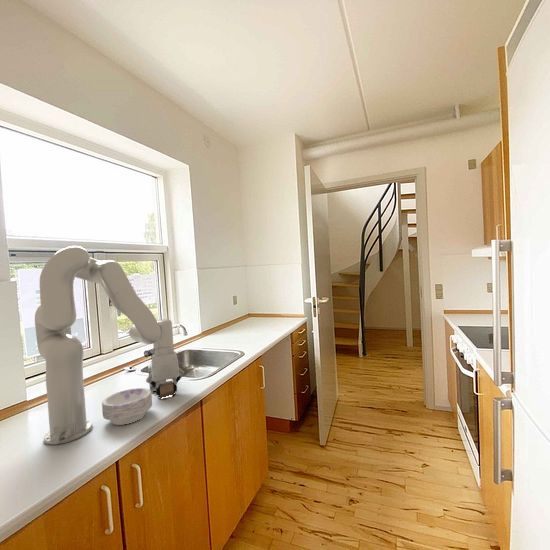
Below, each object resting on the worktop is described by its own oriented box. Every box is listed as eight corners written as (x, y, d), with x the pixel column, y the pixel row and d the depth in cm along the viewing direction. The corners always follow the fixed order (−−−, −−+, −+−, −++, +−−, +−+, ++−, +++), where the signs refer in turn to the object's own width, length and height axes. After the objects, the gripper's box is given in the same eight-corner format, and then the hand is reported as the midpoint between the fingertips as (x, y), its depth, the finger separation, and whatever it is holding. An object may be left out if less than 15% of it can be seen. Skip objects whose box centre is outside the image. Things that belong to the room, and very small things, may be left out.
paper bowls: (147, 404, 110) (146, 383, 110) (157, 419, 98) (155, 396, 98) (101, 417, 102) (100, 395, 101) (105, 436, 89) (103, 410, 89)
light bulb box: (166, 390, 123) (165, 364, 123) (149, 393, 120) (147, 367, 120) (166, 381, 133) (164, 358, 133) (150, 384, 130) (148, 360, 130)
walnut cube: (174, 396, 115) (173, 384, 115) (160, 399, 114) (159, 387, 113) (173, 392, 120) (172, 380, 120) (160, 395, 118) (159, 382, 118)
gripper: (140, 356, 110) (143, 403, 110) (186, 348, 116) (189, 393, 117) (141, 351, 117) (144, 396, 117) (184, 345, 123) (187, 387, 124)
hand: (166, 394), depth 117 cm, fingers closed on walnut cube, 5 cm apart
